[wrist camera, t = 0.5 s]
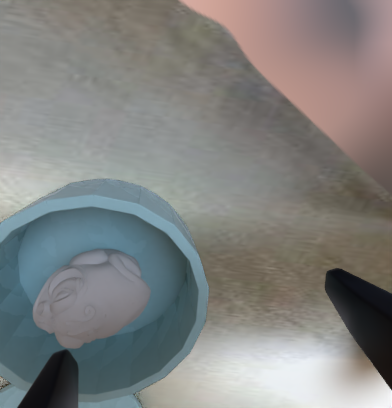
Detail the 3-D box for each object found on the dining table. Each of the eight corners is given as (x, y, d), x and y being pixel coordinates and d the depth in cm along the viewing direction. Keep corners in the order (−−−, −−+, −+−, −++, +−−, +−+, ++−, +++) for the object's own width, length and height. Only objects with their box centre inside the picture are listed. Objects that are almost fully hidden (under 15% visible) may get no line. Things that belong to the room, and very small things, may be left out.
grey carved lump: (54, 236, 21) (10, 285, 14) (147, 228, 22) (147, 270, 15) (67, 305, 22) (32, 379, 16) (153, 295, 23) (155, 360, 17)
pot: (220, 290, 25) (241, 337, 19) (75, 366, 24) (53, 436, 19) (145, 145, 21) (144, 150, 15) (-33, 233, 20) (-103, 273, 14)
